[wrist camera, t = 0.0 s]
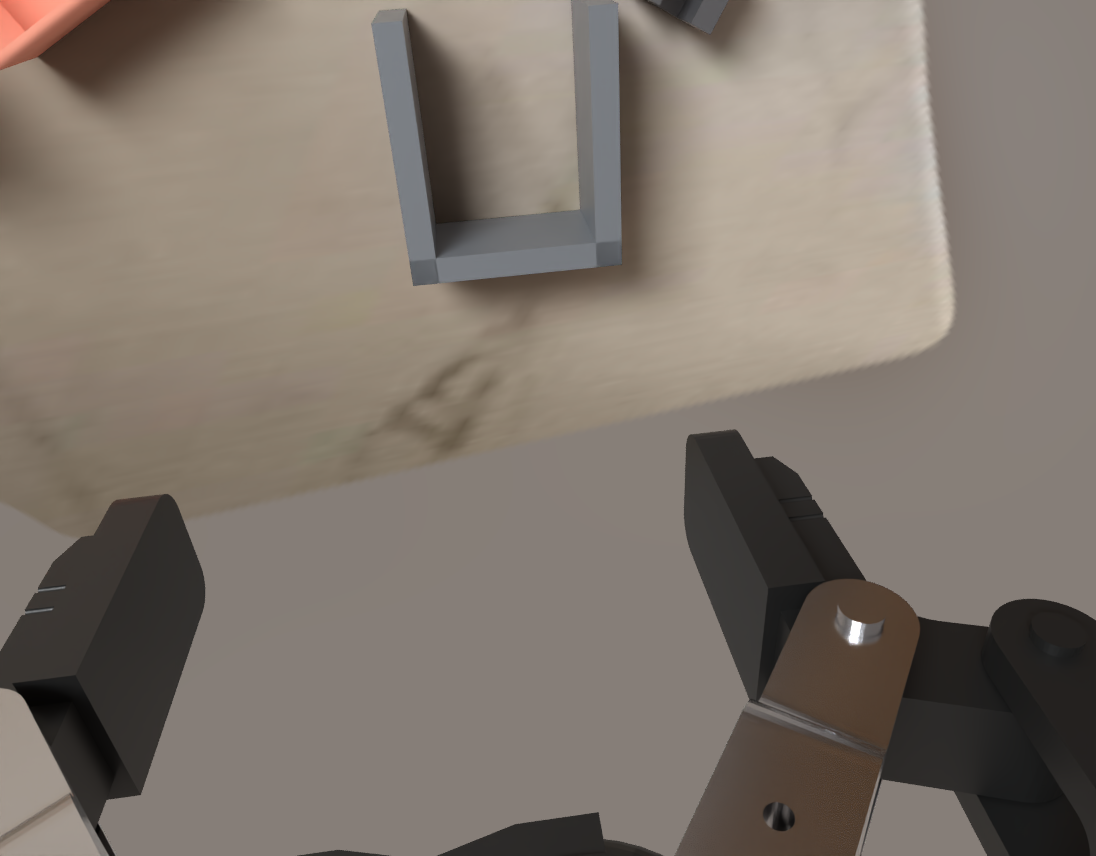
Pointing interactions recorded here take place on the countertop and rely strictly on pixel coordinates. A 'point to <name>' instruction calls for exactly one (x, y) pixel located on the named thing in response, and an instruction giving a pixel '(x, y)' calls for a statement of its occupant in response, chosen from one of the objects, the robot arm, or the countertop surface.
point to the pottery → (38, 25)
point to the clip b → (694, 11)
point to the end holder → (517, 238)
